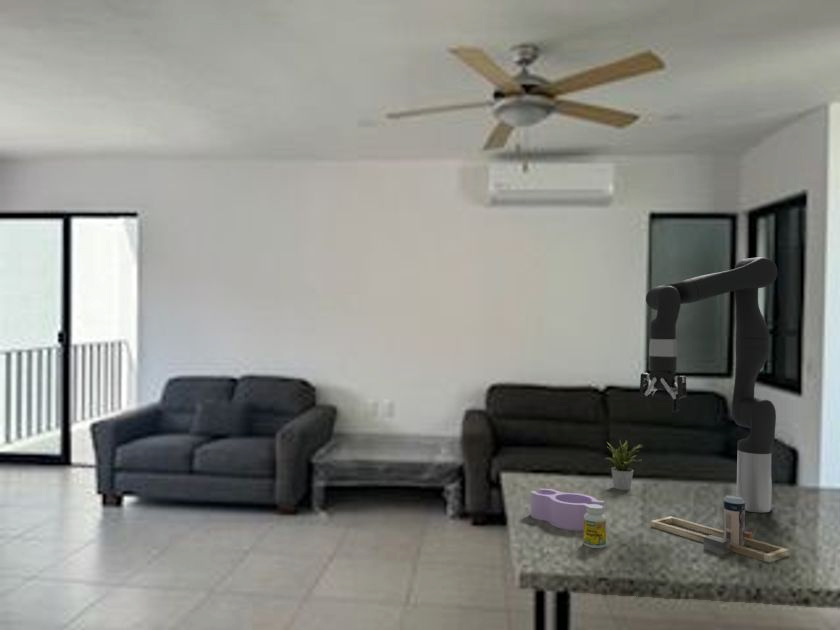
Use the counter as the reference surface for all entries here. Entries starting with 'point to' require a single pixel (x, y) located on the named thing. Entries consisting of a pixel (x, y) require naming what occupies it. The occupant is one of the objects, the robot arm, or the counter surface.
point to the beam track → (721, 540)
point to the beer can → (734, 519)
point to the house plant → (622, 466)
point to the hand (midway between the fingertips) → (662, 410)
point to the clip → (561, 508)
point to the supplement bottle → (594, 527)
